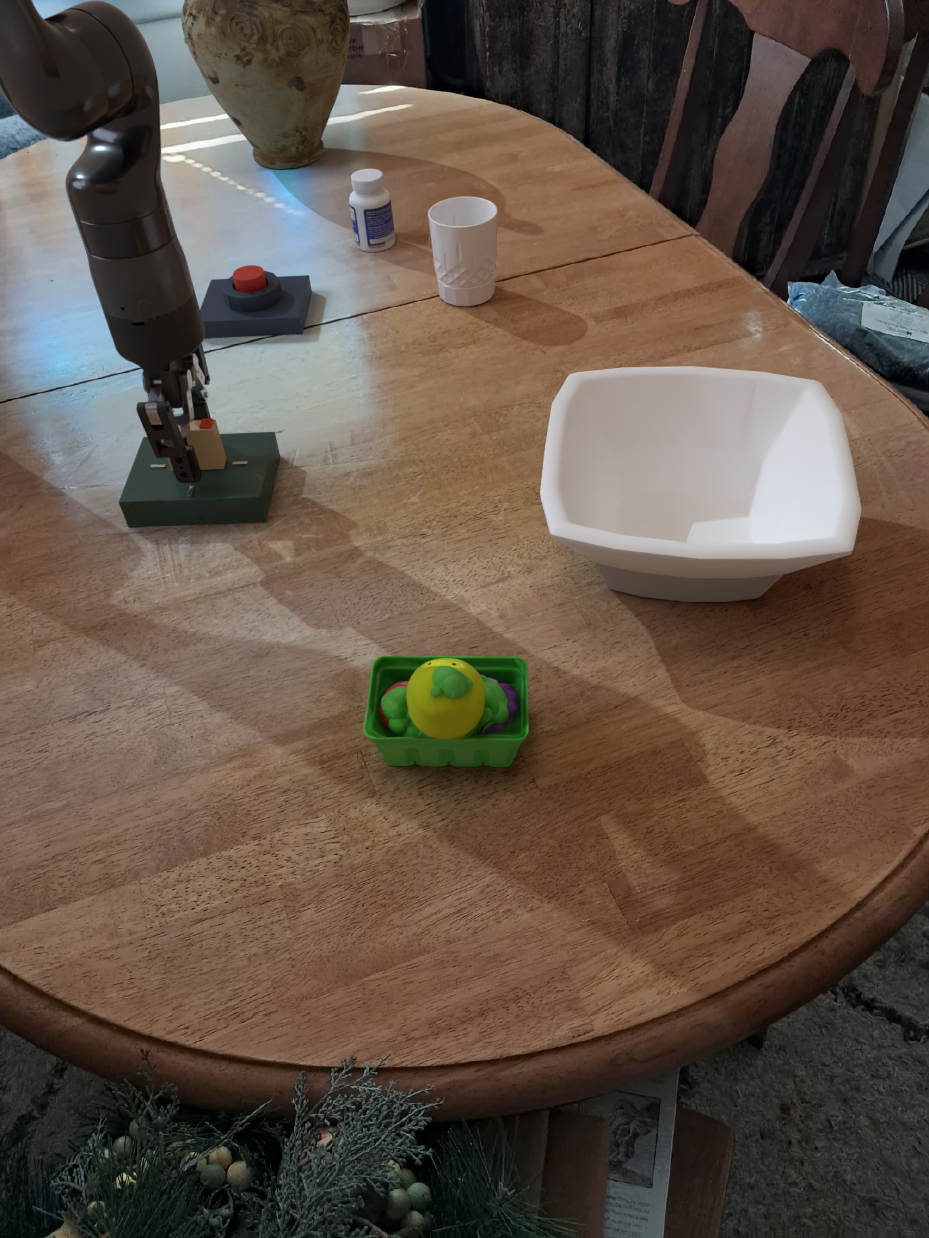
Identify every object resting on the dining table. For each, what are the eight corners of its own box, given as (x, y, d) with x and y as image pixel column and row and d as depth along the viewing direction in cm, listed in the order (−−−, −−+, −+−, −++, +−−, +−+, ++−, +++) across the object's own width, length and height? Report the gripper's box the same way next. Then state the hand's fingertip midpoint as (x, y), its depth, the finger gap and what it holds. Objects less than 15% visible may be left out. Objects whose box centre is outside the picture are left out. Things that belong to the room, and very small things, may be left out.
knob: (171, 471, 93) (157, 429, 89) (174, 461, 94) (161, 419, 90) (223, 469, 92) (212, 427, 89) (226, 459, 94) (215, 417, 90)
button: (233, 295, 114) (230, 280, 113) (238, 279, 117) (235, 265, 115) (264, 293, 114) (261, 279, 113) (268, 278, 117) (265, 264, 115)
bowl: (531, 640, 80) (531, 546, 72) (554, 451, 97) (556, 360, 89) (843, 662, 77) (876, 566, 69) (810, 463, 94) (834, 368, 86)
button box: (199, 339, 115) (191, 307, 112) (215, 296, 122) (207, 265, 119) (302, 334, 114) (296, 303, 111) (311, 291, 121) (306, 261, 118)
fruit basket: (528, 698, 76) (528, 594, 68) (528, 796, 70) (528, 695, 61) (380, 698, 76) (362, 595, 68) (368, 795, 70) (347, 695, 62)
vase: (273, 200, 137) (217, -59, 118) (190, 172, 151) (126, -64, 132) (402, 153, 148) (369, -92, 128) (312, 131, 162) (271, -93, 142)
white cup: (511, 286, 120) (510, 205, 112) (475, 316, 115) (472, 232, 108) (458, 271, 123) (453, 191, 116) (421, 299, 119) (414, 217, 111)
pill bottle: (402, 238, 130) (395, 169, 124) (383, 256, 127) (375, 186, 120) (367, 232, 132) (358, 164, 125) (347, 249, 129) (338, 180, 122)
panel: (127, 527, 92) (117, 500, 90) (151, 461, 99) (142, 435, 97) (266, 522, 92) (259, 495, 89) (280, 456, 99) (274, 430, 96)
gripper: (122, 252, 85) (173, 415, 98) (76, 340, 76) (140, 509, 88) (208, 248, 85) (248, 412, 97) (173, 336, 75) (223, 506, 87)
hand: (197, 457), depth 92 cm, fingers open, 6 cm apart
